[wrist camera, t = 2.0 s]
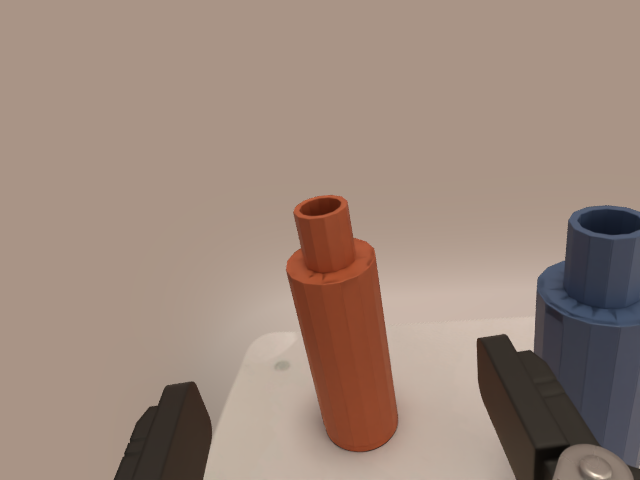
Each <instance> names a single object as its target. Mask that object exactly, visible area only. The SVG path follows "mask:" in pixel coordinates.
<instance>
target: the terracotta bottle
mask: <svg viewBox="0 0 640 480" xmlns="http://www.w3.org/2000/svg"><path fill="white" fill-rule="evenodd" d="M293 213H294V217H295V222H296V227H297V231H298V235H299V240H300V245H301V249H299V250H297V251H296V252H295V253H294V254H293V255H292V256H291V257H290V259H289V260H288V261H287V268H286V271H287V276H288V280H289V283H290V288H291V292H292V296H293V300H294V304H295V308H296V312H297V316H298V320H299V324H300V328H301V333H302V337H303V341H304V345H305V349H306V353H307V357H308V361H309V365H310V369H311V373H312V377H313V381H314V385H315V389H316V394H317V398H318V402H319V406H320V410H321V414H322V418H323V422H324V425H325V427H326V431H327V434H328V436H329V437H330V439H331V440H332V441H333V442H334V443H335V444H336V445H338V446H339V447H341V448H343V449H346V450H350V451H357V452H360V451H369V450H372V449H375V448H378V447H380V446H381V445H383V444H384V443H386V442H387V441H388V440H389V439H390V438H391V437H392V435H393V434H394V432H395V430H396V428H397V424H398V414H397V407H396V400H395V393H394V386H393V378H392V371H391V364H390V357H389V350H388V343H387V335H386V328H385V322H384V314H383V307H382V300H381V292H380V285H379V278H378V271H377V264H376V257H375V251H374V248H373V247H372V246H371V245H369V244H368V243H367V242H365V241H362V240H359V239H356V238H353V233H352V227H351V221H350V215H349V209H348V202H347V200H345V199H344V198H343V197H340V196H334V195H327V196H318V197H314V198H311V199H308V200H305V201H303V202H302V203H300V204H298V205H297V206H296V207H295V210H294V212H293Z"/></svg>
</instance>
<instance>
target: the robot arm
mask: <svg viewBox="0 0 640 480" xmlns="http://www.w3.org/2000/svg"><path fill="white" fill-rule="evenodd" d="M477 365H478V383H479V389H480V393H481V396H482V399H483V402H484V405H485V407H486V409H487V412H488V414H489V416H490V419H491V421H492V423H493V426H494V428H495V430H496V433H497V435H498V437H499V440H500V442H501V444H502V447H503V449H504V451H505V454H506V456H507V458H508V461H509V463H510V466H511V468H512V470H513V473H514V475H515V477H516V480H640V469H639V468H635V467H632V466H630V465H627V464H625V462H624V461H623V460H622V459H620V458H619V457H618V456H617V455H615V454H614V453H612V452H610V451H609V450H607V449H604V448H602V447H601V445H600V444H599V443H598V441H597V440H596V438H595V437H594V435H593V434H592V432H591V431H590V429H589V428H588V426H587V424H586V423H585V421H584V420H583V418H582V417H581V415H580V414H579V412H578V410H577V409H576V407H575V406H574V404H573V403H572V401H571V400H570V398H569V396H568V395H567V394H565V390H564V389H563V387H562V386H561V384H560V382H559V381H557V378H556V376H555V375H554V373H553V372H552V370H551V368H550V367H549V365H548V364H547V362H545V361H544V360H543V359H541V358H540V357H539V356H537V355H536V354H535V353H533V352H532V351H531V350H528V351H521V352H517V351H516V350H515V348H514V346H513V344H512V343H511V341H510V339H509V338H508V336H507V335H506V334H502V335H496V336H489V337H483V338H478V339H477ZM211 440H212V426H211V420H210V417H209V415H208V412H207V410H206V407H205V405H204V402H203V400H202V398H201V395H200V393H199V390H198V388H197V385H196V384H195V383H194V382H185V383H179V384H172V385H167V386H166V387H165V388H164V390H163V393H162V396H161V399H160V401H159V404H158V406H152V407H149V408H148V410H147V411H146V412H145V413H144V414H143V416H142V417H141V418H140V419H139V420H138V422H137V423H136V425H135V428H134V430H133V433H132V436H131V438H130V443H128V445H127V448H126V451H125V453H124V454H125V456H124V457H123V458H122V460H121V463H120V466H119V468H118V470H117V473H116V475H115V478H114V480H203V477H204V473H205V468H206V463H207V459H208V454H209V449H210V445H211Z"/></svg>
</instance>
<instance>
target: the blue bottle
mask: <svg viewBox="0 0 640 480" xmlns="http://www.w3.org/2000/svg"><path fill="white" fill-rule="evenodd" d="M534 353H535V354H536V355H537V356H539V357H540V358H541V359H543V360H544V361H545V362H547V364H548V365H549V367H550V368H551V370H552V372H553V373H554V375H555V376H556V378H557V381H559V382H560V384H561V386H562V387H563V389H564V390H565V394H567V395H568V396H569V398H570V400H571V401H572V403H573V404H574V406H575V407H576V409H577V410H578V412H579V414H580V415H581V417H582V418H583V420H584V421H585V423H586V424H587V426H588V428H589V429H590V431H591V432H592V434H593V435H594V437H595V438H596V440H597V441H598V443H599V444H600V445H601V447H602V448H604V449H607V450H609V451H610V452H612V453H614V454H615V455H617V456H618V457H619V458H620V459H622V460H623V461H624V462H625V464H627V465H630V466H632V467H635V468H639V465H640V212H638V211H636V210H633V209H630V208H626V207H617V206H609V205H608V206H607V205H605V206H593V207H586V208H584V209H581V210H578V211H576V212H574V213H573V214H572V215H571V217H570V219H569V220H568V231H567V244H566V257H565V261H562V262H560V263H557V264H555V265H552V266H550V267H548V268H547V269H546V270H545V271H544V272H543V273H542V274H541V275H540V276H539V277H538V280H537V297H536V317H535V338H534Z"/></svg>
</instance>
